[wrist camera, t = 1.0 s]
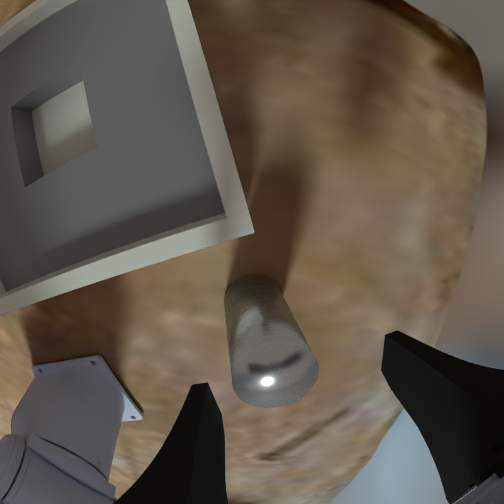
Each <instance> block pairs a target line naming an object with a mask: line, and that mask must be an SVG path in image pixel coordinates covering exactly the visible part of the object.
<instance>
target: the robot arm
mask: <svg viewBox="0 0 504 504" xmlns="http://www.w3.org/2000/svg"><path fill="white" fill-rule="evenodd" d="M93 361H94V362H95V363H94V362H93ZM31 371H32V373H33V374H34V376H35V378H34V379H33V381H32V382H31V384H30V386H29V387H28V389H27V391H26V392H25V394H24V395H23V397H22V399H21V401H20V402H19V404H18V406H17V407H16V409H15V411H14V413H13V415H12V419H11V433H12V434H7V435H5V436H4V437H3V438H2V439H1V440H0V504H228V500H227V493H226V483H225V435H224V428H223V421H222V414H221V412H220V409H219V407H218V405H217V403H216V400H215V398H214V396H213V394H212V391H211V389H210V387H209V384H208V382H207V383H201V384H194V385H192V386H191V388H190V390H189V393H188V395H187V398H186V400H185V402H184V405H183V407H182V409H181V411H180V414H179V416H178V418H177V420H176V422H175V424H174V426H173V428H172V430H171V432H170V433H169V435H168V437H167V439H166V440H165V442H164V444H163V446H162V447H161V449H160V450H159V452H158V454H157V455H156V457H155V458H154V459H153V461H152V462H151V464H150V465H149V466H148V468H147V469H146V470H145V471H144V473H143V474H142V475H141V476H140V477H139V479H138V480H137V481H136V482H135V483H134V484H133V485H132V486H131V487H130V488H129V489H128V490H127V491H126V492H125V493H124V494H123V495H122V496H121V497H120V498H119V499H117V498H116V497H114V496H115V490H116V487H115V486H113V485H112V484H110V483H109V482H108V480H109V475H110V470H111V465H112V460H113V456H114V451H115V447H116V442H117V438H118V434H119V430H120V426H121V422H122V421H133V420H141V419H143V414H142V412H141V411H140V410H139V409H138V407H137V406H136V405H135V403H134V402H133V401H132V400H131V398H130V397H129V396H128V394H127V393H126V391H125V390H124V389H123V387H122V386H121V384H120V383H119V382H118V380H117V379H116V377H115V376H114V374H113V373H112V371H111V370H110V368H109V367H108V365H107V364H106V362H105V361H104V359H103V358H102V357H101V356H99V355H94V356H88V357H83V358H77V359H72V360H66V361H60V362H54V363H47V364H41V365H34V366H32V367H31ZM381 371H382V373H383V375H384V377H385V379H386V381H387V383H388V385H389V386H390V388H391V390H392V391H393V393H394V394H395V396H396V397H397V398H398V400H399V401H400V403H401V404H402V405H403V407H404V408H405V410H406V411H407V412H408V414H409V415H410V416H411V418H412V419H413V421H414V422H415V424H416V425H417V427H418V428H419V430H420V432H421V434H422V436H423V438H424V440H425V442H426V444H427V446H428V448H429V450H430V453H431V455H432V457H433V459H434V462H435V464H436V467H437V470H438V472H439V475H440V478H441V481H442V485H443V488H444V491H445V495H446V499H447V501H448V502H449V504H452V503H454V502H456V501H457V500H459V499H460V498H462V497H463V496H464V495H466V494H467V493H468V492H470V491H471V490H472V489H474V488H475V487H476V486H477V488H476V489H474V490H473V491H472V492H470V493H469V494H468V495H466V496H465V497H464V498H462V499H461V500H459V501H458V502H456V503H455V504H504V370H500V369H495V368H489V367H485V366H480V365H477V364H474V363H470V362H467V361H464V360H461V359H459V358H456V357H453V356H451V355H448V354H446V353H444V352H441V351H439V350H437V349H435V348H433V347H431V346H428V345H426V344H424V343H422V342H420V341H418V340H416V339H414V338H412V337H410V336H408V335H406V334H404V333H402V332H400V331H394V332H392V333H389V334H386V335H385V340H384V350H383V359H382V367H381Z"/></svg>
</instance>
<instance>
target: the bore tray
mask: <svg viewBox="0 0 504 504" xmlns="http://www.w3.org/2000/svg"><path fill="white" fill-rule="evenodd" d="M252 233H255V232H254V228H253V225H252V221H251V218H250V214H249V211H248V207H247V203H246V200H245V196H244V193H243V189H242V186H241V182H240V179H239V175H238V171H237V168H236V164H235V161H234V157H233V154H232V150H231V147H230V143H229V140H228V136H227V133H226V129H225V126H224V122H223V119H222V115H221V112H220V109H219V105H218V102H217V98H216V95H215V91H214V88H213V84H212V81H211V78H210V74H209V71H208V67H207V64H206V60H205V57H204V54H203V50H202V47H201V43H200V40H199V37H198V33H197V30H196V27H195V23H194V20H193V17H192V13H191V10H190V7H189V3H188V0H36V1H35V2H33V3H32V4H30V5H29V6H27V7H26V8H25V9H23V10H22V11H21V12H19V13H18V14H17V15H15V16H14V17H13V18H11V19H10V20H9V21H8V22H6V23H5V24H4V25H3V26H1V27H0V315H2V314H5V313H8V312H11V311H13V310H16V309H19V308H22V307H25V306H28V305H31V304H34V303H36V302H39V301H42V300H45V299H48V298H51V297H54V296H57V295H60V294H63V293H66V292H69V291H72V290H75V289H78V288H81V287H84V286H87V285H90V284H93V283H96V282H99V281H102V280H105V279H108V278H111V277H114V276H117V275H120V274H123V273H126V272H130V271H133V270H136V269H139V268H142V267H145V266H148V265H151V264H155V263H158V262H161V261H164V260H167V259H170V258H174V257H177V256H180V255H183V254H187V253H190V252H193V251H196V250H199V249H203V248H206V247H209V246H213V245H216V244H219V243H222V242H226V241H229V240H232V239H236V238H239V237H242V236H246V235H249V234H252Z"/></svg>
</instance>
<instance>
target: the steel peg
mask: <svg viewBox="0 0 504 504" xmlns="http://www.w3.org/2000/svg"><path fill="white" fill-rule="evenodd" d="M224 307H225V317H226V328H227V338H228V347H229V357H230V366H231V375H232V383H233V389H234V391H235V393H236V395H237V396H238V397H239V398H240V399H241V400H243V401H244V402H246V403H248V404H250V405H253V406H257V407H278V406H282V405H286V404H289V403H291V402H293V401H296V400H297V399H299V398H301V397H302V396H303V395H305V394H306V393H307V392H308V391H309V390H310V389H311V388H312V386H313V385H314V383H315V382H316V380H317V377H318V372H319V367H318V363H317V360H316V358H315V357H314V355H313V353H312V351H311V349H310V347H309V345H308V343H307V341H306V339H305V337H304V335H303V333H302V331H301V329H300V327H299V326H298V324H297V322H296V320H295V318H294V316H293V314H292V312H291V310H290V308H289V306H288V304H287V302H286V301H285V299H284V297H283V295H282V293H281V291H280V289H279V287H278V286H277V284H276V283H275V282H274V281H273V280H272V279H270V278H268V277H266V276H263V275H258V274H251V275H246V276H243V277H241V278H239V279H237V280H236V281H234V282H233V283H232V284H231V285H230V286H229V288H228V289H227V291H226V294H225V298H224Z"/></svg>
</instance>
